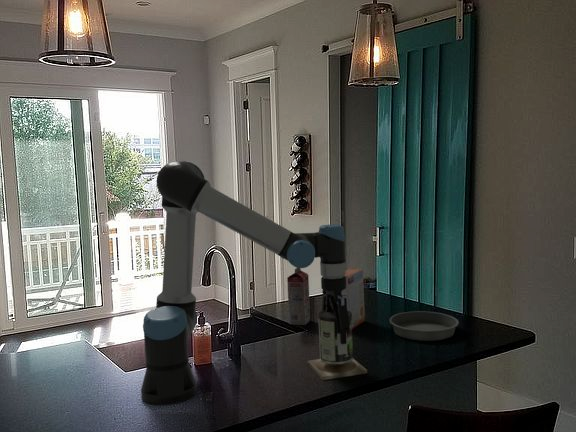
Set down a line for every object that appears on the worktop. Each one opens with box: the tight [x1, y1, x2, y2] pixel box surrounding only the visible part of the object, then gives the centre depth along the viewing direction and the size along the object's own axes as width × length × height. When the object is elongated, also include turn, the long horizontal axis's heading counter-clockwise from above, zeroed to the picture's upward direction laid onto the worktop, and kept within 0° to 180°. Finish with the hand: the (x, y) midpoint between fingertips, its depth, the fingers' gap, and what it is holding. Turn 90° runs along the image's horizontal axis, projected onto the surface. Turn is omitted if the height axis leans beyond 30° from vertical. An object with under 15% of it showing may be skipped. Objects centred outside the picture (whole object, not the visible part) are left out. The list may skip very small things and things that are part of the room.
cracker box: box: [341, 268, 366, 330], centre depth 210 cm, size 14×6×21 cm, turn 149°
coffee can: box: [317, 310, 354, 364], centre depth 166 cm, size 10×10×14 cm
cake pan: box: [389, 310, 460, 342], centre depth 200 cm, size 25×25×4 cm
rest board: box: [307, 358, 368, 381], centre depth 167 cm, size 14×14×1 cm
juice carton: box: [286, 267, 311, 326], centre depth 217 cm, size 7×7×22 cm
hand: (335, 348), depth 166 cm, fingers closed on coffee can, 10 cm apart
